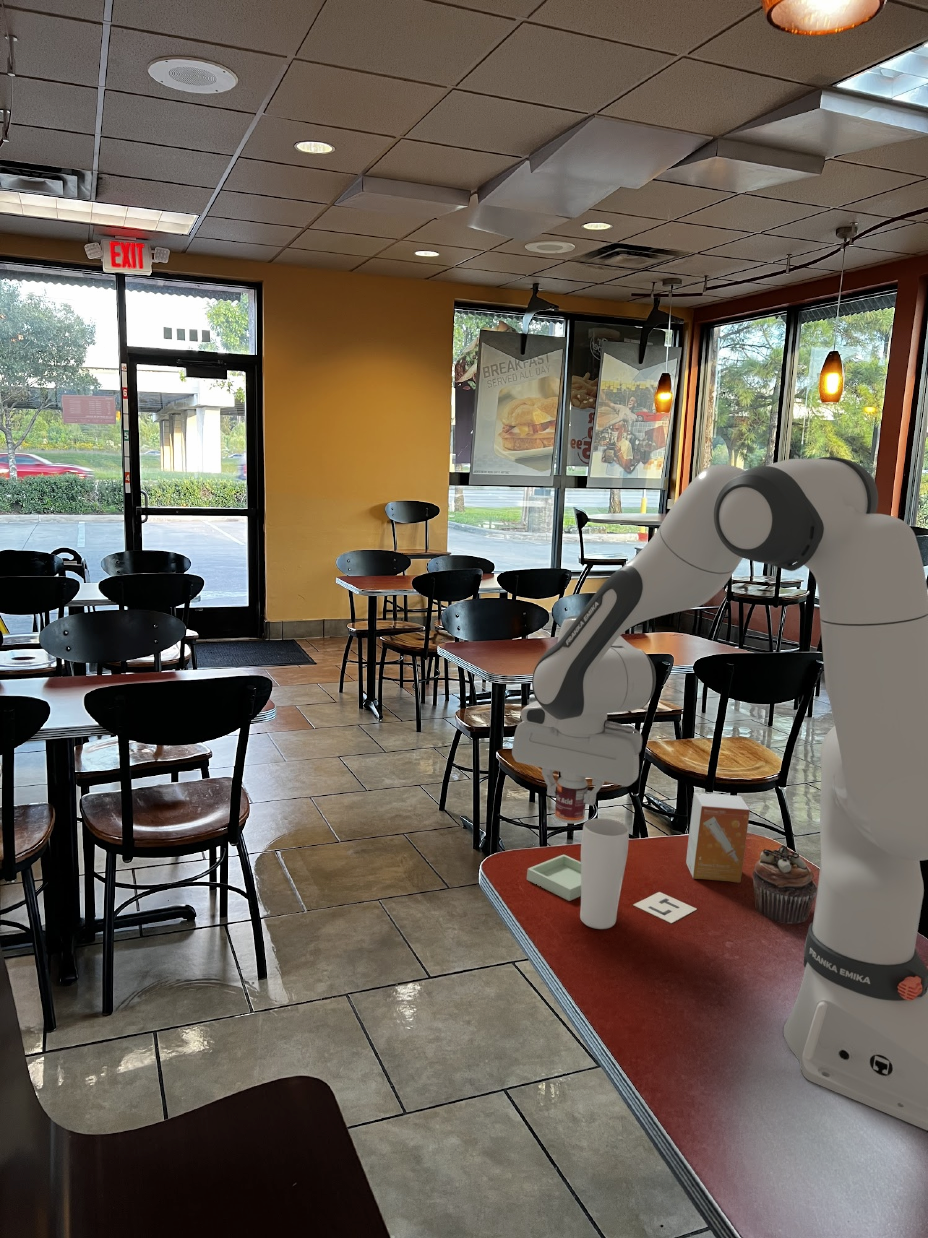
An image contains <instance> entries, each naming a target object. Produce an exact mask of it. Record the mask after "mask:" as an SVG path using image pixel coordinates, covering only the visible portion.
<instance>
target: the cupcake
mask: <svg viewBox="0 0 928 1238" xmlns="http://www.w3.org/2000/svg"><path fill="white" fill-rule="evenodd" d="M814 877H815V875H814V872H813V871H812V869H811V868H809V866H808V865H807V863H806V862H805V861H804V860H803V859H802V858H801V857H800V854H799V853H798V852H795V851H793V850H792V851H791V850H789V849H788V846H786V845H784V844H783V845H781V846H780V847H779V848H778V849H773V850H770V849H765V848H764V849H763V850H762V851H761V853H760V857H759V860H758V861H756V862H755V865H754V870H753V872H752V879H753V882H752V883H753V884H752V885H753V892H754V902H755V903H754V906H755V909H756V911H757V912H758V913H759V914H760V915H762V916H764V918H767V919H768V920H771V921H773V922H777V923H780V924H781V923H782V924H787V925H788V924H791V925H792V924H793V925H794V924H801V923H804V922H806V921H807V920H808V918H809V917H810V912H811V910H812V907H813V904H814V901H815V900H816V897H817V889H818V884H816V883H815V882H814V881H813V879H814Z"/></svg>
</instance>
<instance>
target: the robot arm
mask: <svg viewBox="0 0 928 1238" xmlns="http://www.w3.org/2000/svg"><path fill="white" fill-rule="evenodd" d="M878 506H879V492H878V488H877V485H876V482H875V480H874V478H873V476H872V475H871V474H870V473H869V471H868V470H867V469H866V468H865V467H864V466H862V465H860V464H859V463H857V462H855V461H853V460H850V459H846V458H844V457H843V458H842V457H837V456H824V457H823V456H822V457H818V458H805V459H804V458H790V459H785V460H780V461H777V462H773V463H770V464H767V465H760V466H759V465H758V466H755V467H750V468H748V469H747V470H745V469H742V468H741V467H738V466H734V465H731V464H730V465H729V464H714V465H710V466H708V467H706V468H705V469H703V470H702V471H700V472H699V473H698V474H697V475H696V476H695V477H694V479H693V480H692V481H691V482H689V484H688V486H686V487H685V489H684V490H683V491H682V492H681V494H680V495H679V497H678V498H677V500H675V502H674V503H673V505H672V506H671V508H670V509H669V511H668V512H667V514H666V515H665V517H664V519H663V520H662V522H661V524H660V525H659V528H657V531H656V532H655V533H654V535H653V536H652V537H651V539H650V540H649V541H648V542H647V543H646V544H645V546H643V548H642V549H641V550H640V551H639V552H638V553H636V555H635V556H633V557H632V559H631V560H629V561H628V562H626V564H624V565H622V566H621V567H620V568H619V569H617V570H616V571H615V572H613V573H612V574H611V575H610V576H609V577H608V578H607V579H606V580H605V581H604V582H603V583H602V585H601V586H600V587H599V588H598V590H596V592H595V593H594V594H593V596H592V597H591V599H590V600H589V601H588V602H587V604H586V605H585V607H584V608H583V609H582V611H581V612H580V613H579V614H578V615H570V616H568V617H566V618H565V619H563V622H562V623H561V626H560V628H559V632H558V637H557V642H556V644H554V645H553V646H550V648H548V649H547V650H546V651H545V652H544V654H542V656H541V657H540V659H539V660H538V662H537V663H536V666H535V667H534V669H533V670H534V671H533V674H532V678H531V679H532V681H531V686H532V687H531V689H532V692H533V695H534V698H535V701H533V702H531V703H528V704H527V705H525V706H524V707H523V708H522V709H521V710H520V719H521V721H520V722H519V723H518V724H517V726H516V728H515V732H514V736H513V740H512V741H513V742H512V748H511V755H512V757H513V759H514V761H515V762H516V763H519V764H523V765H528V766H533V767H538V768H542V769H541V775H542V777H543V780H544V782H545V784H546V786H547V787H546V789H547V791H546V795H547V796H551V797H555V798H556V794H557V783H558V782H556V780H555V778H554V775H553V773H554V772H560V773H561V772H565V771H569V772H573V773H575V774H576V775H578V776H582V777H586V779H592V781H591V785H592V786H594V787H593V788H592V790H588V789H587V791H586V792H585V793H584V800H583V803H584V804H586V805H588V806H594V805H595V803H596V799H597V793H598V792H599V791H600V789H601V788H602V787H603V785H604V784H605V783H610V784H614V785H619V786H623V787H629V786H632V784H633V783H635V782H636V781H637V780H638V778H639V772H640V771H639V770H640V756H639V755H640V753H641V751H642V746H643V735H642V733H641V732H640V731H639V730H638V729H636V728H635V726H633V725H631V724H630V725H629V724H621V723H618V722H615V721H614V722H613V721H610V720H608V714H612V713H622V712H631V711H636V710H640V709H644V708H645V707H646V706H647V705H648V704H649V702H650V701H651V699H652V697H653V695H654V693H655V689H656V684H657V682H656V681H657V676H656V675H657V674H656V668H655V666H654V663H653V661H652V660H651V658H650V656H649V655H648V654H647V653H646V652H645V651H644V650H642V649H641V648H637V647H635V646H633V645H632V644H631V643H630V642H628V641H626V639H624V637H623V636H622V634H623V633H624V632H625V631H627V630H629V629H630V628H632V627H634V626H636V625H637V624H640V623H642V622H645V621H648V620H650V619H651V620H652V619H655V618H658V617H661V616H666V615H669V614H673V613H678V612H683V611H684V612H685V611H688V610H692V609H695V608H698V607H700V606H702V605H704V604H706V603H708V602H709V601H710V600H711V599H713V598H714V597H715V596H716V595H717V594H718V593H719V592H720V591H721V590H722V589H723V588H724V587H725V586H726V584H727V583H728V581H730V579H731V577H732V575H733V574H734V572H735V571H736V569H737V568H738V566H739V565H740V564H741V561H742V560H743V559H745V560H749V561H753V562H757V563H761V564H766V565H771V566H773V567H776V568H779V569H783V570H785V571H789V572H794V571H796V570H799V569H801V568H802V567H803V566H805V567H806V568H807V569H808V570H809V571H810V572H811V573H812V575H813V577H814V579H815V581H816V585H817V591H818V603H819V619H820V633H821V645H822V647H821V648H822V657H823V659H822V660H823V670H824V671H823V672H824V683H825V689H826V694H827V696H828V700H829V704H830V707H831V712H832V718H833V722H834V726H833V727H832V728H830V730H828V732H827V733H826V734H825V736H824V738H823V740H822V742H821V746H820V755H819V756H820V795H819V796H820V797H819V798H820V799H819V800H820V801H819V807H820V808H819V833H820V834H819V837H820V838H819V840H820V857H819V858H820V860H819V861H820V862H819V874H818V875H819V876H818V883H817V894H816V896H815V905H814V914H813V921H812V922H811V923H810V924H809V926H808V929H807V934H806V939H805V943H804V944H805V945H804V949H803V950H804V951H803V954H804V955H803V956H804V957H803V966H804V973H803V976H802V980H801V984H800V988H799V991H798V994H797V996H796V1000H795V1003H794V1004H793V1008H792V1010H791V1012H790V1015H789V1016H788V1018H787V1020H786V1022H785V1024H784V1027H783V1037H784V1039H785V1043H786V1044H787V1046H788V1047H789V1049H790V1050H791V1051H792V1053H793V1054H794V1055H795V1056H796V1058H797V1060H798V1061H799V1065H800V1070H801V1073H802V1075H803V1076H804V1077H805V1079H807V1080H808V1081H809V1082H811V1083H814V1084H816V1085H819V1086H821V1087H823V1088H826V1089H828V1090H831V1091H833V1092H835V1093H838V1094H839V1095H842V1096H844V1097H847V1098H850V1099H852V1100H854V1101H856V1102H859V1103H861V1104H864V1105H867V1106H869V1107H871V1108H873V1109H876V1110H878V1111H880V1112H883V1113H885V1114H887V1115H890V1116H892V1117H893V1118H897V1119H899V1120H901V1121H904V1122H906V1123H908V1124H911V1125H914V1126H916V1127H918V1128H920V1129H923V1130H925V1131H926V1132H927V1131H928V965H927V966H926V964H925V963H924V962H923V960H922V959H921V957H920V956H919V954H918V951H917V948H916V942H917V937H918V932H919V931H918V930H919V925H920V924H919V923H920V918H921V910H922V907H923V906H922V905H923V900H924V892H925V889H924V880H923V875H922V871H921V862H920V861H927V860H928V585H927V579H926V573H925V566H924V564H923V560H922V559H923V558H922V555H921V551H920V548H919V543H918V540H917V537H916V534H915V532H914V530H913V529H912V528H911V526H910V525H909V524H908V523H906V522H905V521H904V520H902V519H900V518H898V517H896V516H893V515H888V514H884V513H877V510H878Z"/></svg>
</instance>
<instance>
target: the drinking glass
mask: <svg viewBox="0 0 928 1238" xmlns="http://www.w3.org/2000/svg"><path fill="white" fill-rule="evenodd" d="M629 834H630V829H629V827H628V826H627V825H626V824H624V823H623V822H620V821H618V820H615V819H611V818H604V817H603V818H602V817H601V818H598V817H597V818H591V819H588V820H586V821H585V822H584V823H583V826H582V834H581V843H580V862H581V896H580V909H579V910H580V912H579V918H580V920H581V922H582V923H583V924H584V925H585V926H587V927H589V928H592V929H596V930H607V929H610V928H612V927H613V926H615V925H616V922H617V915H618V907H619V901H620V896H621V890H622V886H623V882H624V881H623V880H624V875H625V868H626V865H627V864H626V863H627V858H628V851H629V841H630V839H629V837H630V835H629Z"/></svg>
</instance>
